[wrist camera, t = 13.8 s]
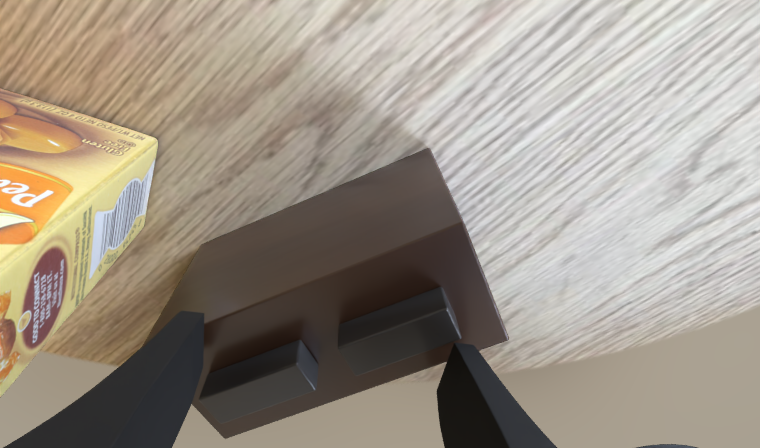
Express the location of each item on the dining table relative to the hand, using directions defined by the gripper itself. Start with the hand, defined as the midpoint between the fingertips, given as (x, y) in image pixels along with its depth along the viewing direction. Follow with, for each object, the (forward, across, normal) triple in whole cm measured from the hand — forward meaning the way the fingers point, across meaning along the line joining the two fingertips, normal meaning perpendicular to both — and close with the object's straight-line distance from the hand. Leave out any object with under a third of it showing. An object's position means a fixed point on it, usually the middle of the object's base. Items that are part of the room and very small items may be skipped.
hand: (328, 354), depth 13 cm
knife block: (+6, 0, 0) cm, 6 cm away
